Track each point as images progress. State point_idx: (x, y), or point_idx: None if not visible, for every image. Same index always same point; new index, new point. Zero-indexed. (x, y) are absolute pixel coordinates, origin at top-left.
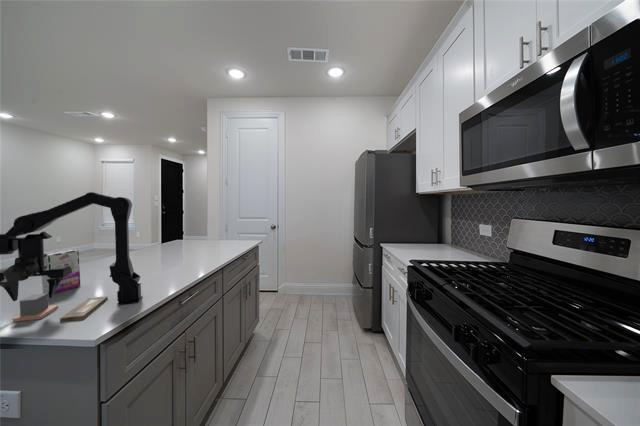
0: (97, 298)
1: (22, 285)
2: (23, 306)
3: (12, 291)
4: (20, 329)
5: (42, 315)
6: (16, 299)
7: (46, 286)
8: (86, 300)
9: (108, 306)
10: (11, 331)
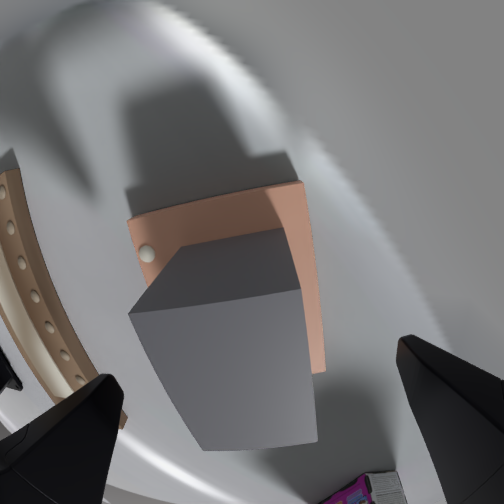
0: None
1: None
2: (261, 263)
3: (464, 410)
4: (134, 62)
5: (132, 232)
6: (400, 362)
7: (388, 494)
8: None
9: (3, 330)
10: (165, 36)
